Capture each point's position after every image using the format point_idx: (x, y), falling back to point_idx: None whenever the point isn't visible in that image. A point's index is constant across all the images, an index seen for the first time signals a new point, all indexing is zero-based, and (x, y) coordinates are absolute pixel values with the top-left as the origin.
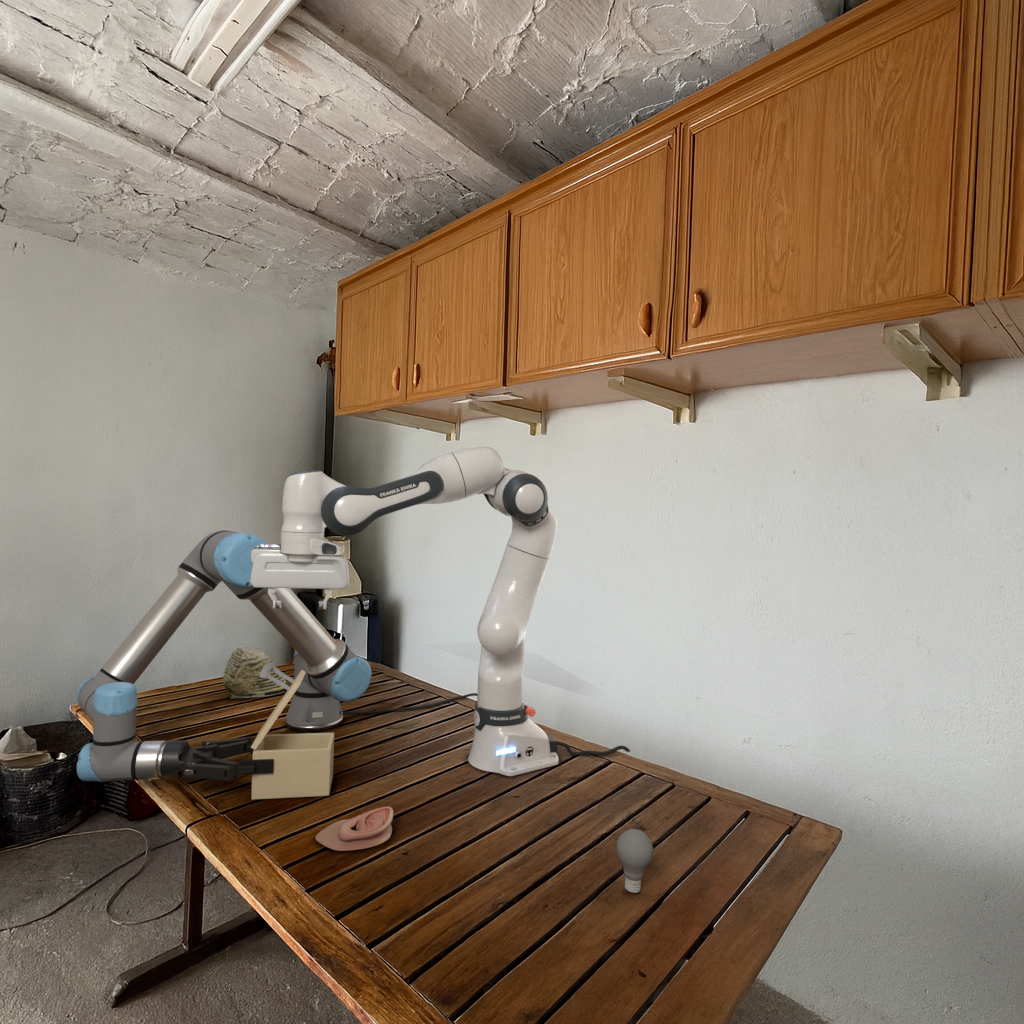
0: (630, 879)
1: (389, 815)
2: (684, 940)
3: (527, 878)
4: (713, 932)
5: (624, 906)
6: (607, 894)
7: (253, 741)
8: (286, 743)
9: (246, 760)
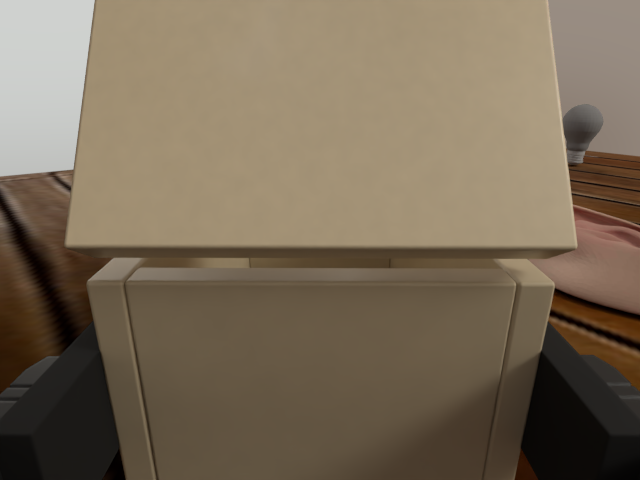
0: (585, 150)
1: (576, 206)
2: (630, 162)
3: (597, 187)
4: (606, 157)
5: (602, 168)
6: (588, 170)
7: (23, 410)
8: (199, 262)
9: (586, 385)
